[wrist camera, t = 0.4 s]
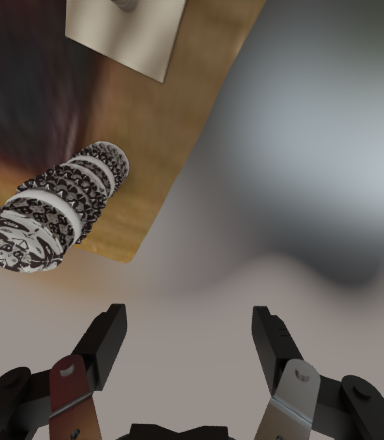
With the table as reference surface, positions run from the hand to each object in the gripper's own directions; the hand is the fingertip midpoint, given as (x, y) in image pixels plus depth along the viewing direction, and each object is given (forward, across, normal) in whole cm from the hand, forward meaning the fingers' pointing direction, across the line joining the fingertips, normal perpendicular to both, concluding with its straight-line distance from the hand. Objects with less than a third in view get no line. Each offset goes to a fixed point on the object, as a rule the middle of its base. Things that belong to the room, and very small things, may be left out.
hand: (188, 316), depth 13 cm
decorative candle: (+30, +17, -9) cm, 36 cm away
